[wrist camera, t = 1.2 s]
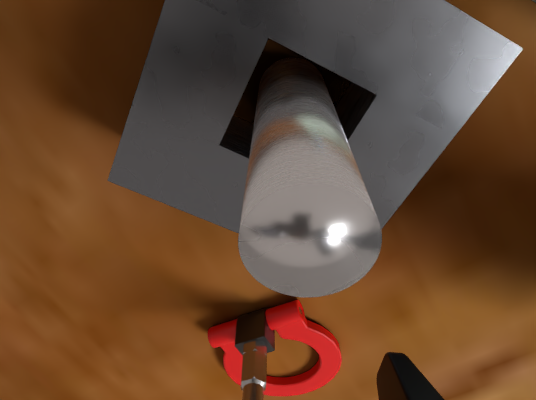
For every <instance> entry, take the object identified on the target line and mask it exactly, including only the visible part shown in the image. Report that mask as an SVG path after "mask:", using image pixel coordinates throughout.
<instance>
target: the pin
mask: <svg viewBox="0 0 536 400" xmlns="http://www.w3.org/2000/svg"><path fill="white" fill-rule="evenodd" d="M381 243H382V233H381V227H380V224H379V221H378V218H377V215H376V213H375V210H374V208H373V205H372V202H371V200H370V197H369V195H368V192H367V190H366V187H365V185H364V182H363V179H362V177H361V174H360V172H359V169H358V167H357V164H356V161H355V159H354V156H353V154H352V151H351V149H350V146H349V143H348V141H347V138H346V136H345V133H344V131H343V128H342V125H341V123H340V120H339V118H338V115H337V113H336V110H335V107H334V105H333V102H332V100H331V97H330V95H329V92H328V89H327V87H326V84H325V82H324V79H323V77H322V75H321V73H320V71H319V70H318V69H317V68H316V67H315V66H314V65H313V64H312V63H310V62H309V61H307V60H304V59H301V58H295V57H290V58H284V59H281V60H279V61H277V62H275V63H273V64H272V65H271V66H270V67H269V68H268V69H267V70H266V71H265V72H264V74H263V76H262V78H261V80H260V84H259V90H258V97H257V104H256V112H255V119H254V127H253V134H252V141H251V149H250V156H249V164H248V171H247V178H246V186H245V193H244V201H243V208H242V215H241V223H240V230H239V238H238V246H239V253H240V256H241V259H242V262H243V264H244V265H245V267H246V269H247V270H248V271H249V273H250V274H251V275H252V276H253V277H254V278H255V279H256V280H257V281H259V282H260V283H261V284H263V285H264V286H266V287H268V288H269V289H271V290H274V291H276V292H279V293H282V294H285V295H290V296H295V297H319V296H325V295H329V294H333V293H336V292H339V291H341V290H344V289H346V288H348V287H350V286H351V285H353V284H354V283H356V282H357V281H359V280H360V279H361V278H362V277H364V276H365V275H366V273H367V272H368V271H369V270H370V269H371V267H372V266H373V265H374V263H375V261H376V259H377V257H378V255H379V252H380V249H381Z"/></svg>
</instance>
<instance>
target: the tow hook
mask: <svg viewBox="0 0 536 400" xmlns="http://www.w3.org/2000/svg"><path fill="white" fill-rule="evenodd" d="M274 330H276V331H277V332H278V334H279V335H280V337H281V338H284V339H292V340H297V341H301V342H303V343H306V344H308V345H309V346H311V347H312V348H314V349H315V350H316V352H317V353H318V354H319V360H318V361H317V363H316V365H315V366H314V367H312V368H311V369H310V370H309V371H307V372H305V373H303V374H300V375H296V376H291V377H272V376H267V375H266V374H267V353H268V352H272V351H274V350H275V336H274ZM208 340H209V342H210V344H211V346H212V347H214V348H216V347H221V348H222V349H223V351H224V355H223V362H224V368H225V370H226V372H227V374H228V376H229V377H230V378H231V379H232V380H233V381H234V382H235V383H237V384H239V385H240V386H241V390H243V397H242V400H263V396H264V395H270V396H292V395H300V394H304V393H307V392H311V391H314V390H316V389H318V388H320V387H322V386H324V385H325V384H327V383H328V382H329V381H330V380H332V379H333V378H334V377H335V375H336V374H337V372H338V371H339V369H340V365H341V361H342V358H341V352H340V348H339V343H338V341H337V340H336V339H335V337H334V336H333V334H332V333H330V332H329V331H328V330H326V329H325V328H324V327H323V326H320V325H318V324H316V323H313V322H311V321H309V320H307V319H306V318H305V315H304V310H303V307H302V305H301V303H300V301H299V300H294V301H291V302H288V303H285V304H282V305H279V306H276V307H272V308H269V309H267V308H264V309H261V310H258V311H255V312H252V313H248V314H245V315H242V316H240V317H238V319H235V320H232V321H229V322H226V323H223V324H219V325H216V326H213V327H210V328H209V329H208Z"/></svg>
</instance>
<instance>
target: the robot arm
mask: <svg viewBox="0 0 536 400" xmlns="http://www.w3.org/2000/svg"><path fill="white" fill-rule="evenodd" d="M377 389H378V396H379V400H444V399H443V398H442V396H441V395H440V394H439V393H438V392H437V391H436V389H435V388H434V387H433V386H432V385H431V384H430V382H429V381H428V380H427V379H426V378H425V377H424V375H423V374H422V373H421V372H420V371H419V370H418V368H417V367H416V366H415V365H414V364H413V363H412V361H411V360H410V359H409V358H408V357H407V356H406V355H405V354H403V353H394V352H388V353H386V354H385V356H384V358H383V361H382V363H381V366H380V368H379V371H378V373H377Z"/></svg>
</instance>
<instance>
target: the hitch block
mask: <svg viewBox="0 0 536 400" xmlns="http://www.w3.org/2000/svg"><path fill="white" fill-rule="evenodd" d="M268 38H269V39H271V40H273V41H275V42H277V43H279V44H281V45H283V46H285V47H287V48H288V49H290V50H292V51H294V52H296V53H298V54H300V55H302V56H304V57H306V58H308V59H309V60H311V61H313V62H315V63H317V64H319V65H321V66H323V67H325V68H327V69H328V70H330V71H332V72H334V73H336V74H338V75H340V76H342V77H344V78H346V79H348V80H349V81H351V84H350V85H349V87H348V89H347V90H346V92H345V94H344V95H343V97H342V99H341V100H340V102H339V104H338V105H337V107H336V109H335V110H336V113H337V115H338V118H339V120H340V123H341V125H342V128H343V131H344V133H345V136H346V138H347V141H348V143H349V146H350V149H351V151H352V154H353V156H354V159H355V161H356V164H357V167H358V169H359V172H360V174H361V177H362V179H363V182H364V185H365V187H366V190H367V192H368V195H369V197H370V200H371V202H372V205H373V208H374V210H375V213H376V215H377V218H378V221H379V224H380V227H381V229H382V228H383V227H384V225H385V224H386V223H387V221H388V220H389V219H390V218H391V216H392V215H393V214H394V213H395V211H396V210H397V209H398V207H399V206H400V205H401V204H402V202H403V201H404V200H405V199H406V197H407V196H408V195H409V193H410V192H411V191H412V190H413V188H414V187H415V186H416V185H417V183H418V182H419V181H420V179H421V178H422V177H423V176H424V174H425V173H426V172H427V171H428V169H429V168H430V167H431V165H432V164H433V163H434V162H435V160H436V159H437V158H438V157H439V155H440V154H441V153H442V151H443V150H444V149H445V148H446V146H447V145H448V144H449V143H450V141H451V140H452V139H453V137H454V136H455V135H456V134H457V132H458V131H459V130H460V129H461V127H462V126H463V125H464V123H465V122H466V121H467V120H468V118H469V117H470V116H471V115H472V113H473V112H474V111H475V109H476V108H477V107H478V106H479V104H480V103H481V102H482V101H483V99H484V98H485V97H486V95H487V94H488V93H489V92H490V90H491V89H492V88H493V87H494V85H495V84H496V83H497V81H498V80H499V79H500V78H501V76H502V75H503V74H504V73H505V71H506V70H507V69H508V67H509V66H510V65H511V64H512V62H513V61H514V60H515V59H516V57H517V56H518V55H519V53H520V52H521V51H522V50H523V48H521V47H520V46H518V45H517V44H515V43H513V42H512V41H510V40H508V39H507V38H505V37H503V36H502V35H500V34H499V33H497V32H495V31H494V30H492V29H490V28H489V27H487V26H485V25H484V24H482V23H481V22H479V21H477V20H476V19H474V18H472V17H471V16H469V15H468V14H466V13H464V12H463V11H461V10H459V9H458V8H456V7H454V6H453V5H451V4H450V3H448V2H446V1H445V0H165V2H164V5H163V8H162V11H161V15H160V18H159V21H158V24H157V27H156V30H155V33H154V37H153V40H152V43H151V46H150V49H149V52H148V55H147V59H146V62H145V65H144V68H143V71H142V74H141V77H140V80H139V84H138V87H137V90H136V93H135V96H134V99H133V102H132V106H131V109H130V112H129V115H128V118H127V121H126V124H125V128H124V131H123V134H122V137H121V140H120V143H119V146H118V149H117V153H116V156H115V159H114V162H113V165H112V168H111V171H110V175H109V178H108V181H110V182H112V183H115V184H117V185H120V186H122V187H125V188H127V189H130V190H132V191H135V192H137V193H140V194H142V195H145V196H147V197H150V198H152V199H155V200H157V201H160V202H162V203H164V204H167V205H169V206H172V207H174V208H177V209H179V210H182V211H184V212H187V213H189V214H192V215H194V216H197V217H199V218H202V219H204V220H207V221H209V222H212V223H214V224H217V225H219V226H222V227H224V228H227V229H229V230H232V231H234V232H237V233H239V230H240V223H241V215H242V208H243V201H244V193H245V186H246V178H247V171H248V164H249V156H250V149H251V141H252V134H253V127H254V124H251V123H249V122H247V121H245V120H243V119H241V118H239V117H237V116H234V115H233V114H234V112H235V110H236V107H237V105H238V103H239V101H240V99H241V97H242V94H243V92H244V90H245V88H246V86H247V84H248V81H249V79H250V77H251V75H252V73H253V71H254V68H255V66H256V64H257V62H258V60H259V58H260V55H261V53H262V51H263V49H264V47H265V45H266V42H267V40H268Z"/></svg>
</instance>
